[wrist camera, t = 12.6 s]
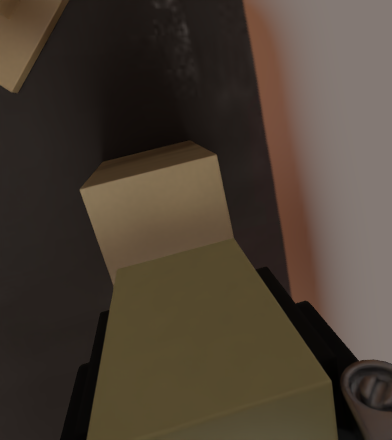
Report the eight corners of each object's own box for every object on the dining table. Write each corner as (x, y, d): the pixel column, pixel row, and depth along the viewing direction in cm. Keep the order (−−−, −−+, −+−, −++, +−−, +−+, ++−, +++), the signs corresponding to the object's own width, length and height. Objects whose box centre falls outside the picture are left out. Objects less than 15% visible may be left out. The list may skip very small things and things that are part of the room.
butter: (116, 268, 10) (82, 456, 4) (233, 237, 10) (333, 381, 5) (161, 397, 11) (173, 644, 6) (260, 368, 11) (355, 582, 6)
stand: (102, 161, 26) (79, 189, 16) (189, 140, 26) (216, 154, 17) (131, 254, 28) (126, 323, 19) (211, 232, 29) (244, 289, 19)
